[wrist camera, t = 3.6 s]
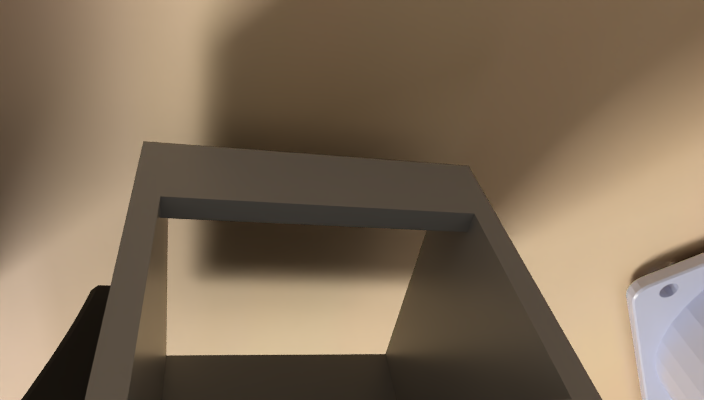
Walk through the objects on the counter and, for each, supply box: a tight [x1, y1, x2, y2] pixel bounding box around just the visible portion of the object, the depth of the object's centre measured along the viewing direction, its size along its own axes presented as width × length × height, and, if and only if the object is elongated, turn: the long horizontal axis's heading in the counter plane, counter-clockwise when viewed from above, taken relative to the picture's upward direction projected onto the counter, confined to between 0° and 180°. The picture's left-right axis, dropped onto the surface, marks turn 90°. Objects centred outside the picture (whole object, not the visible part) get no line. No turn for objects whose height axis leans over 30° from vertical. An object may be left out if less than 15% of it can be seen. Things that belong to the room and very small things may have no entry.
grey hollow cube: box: [85, 141, 602, 400], centre depth 10 cm, size 6×6×6 cm
